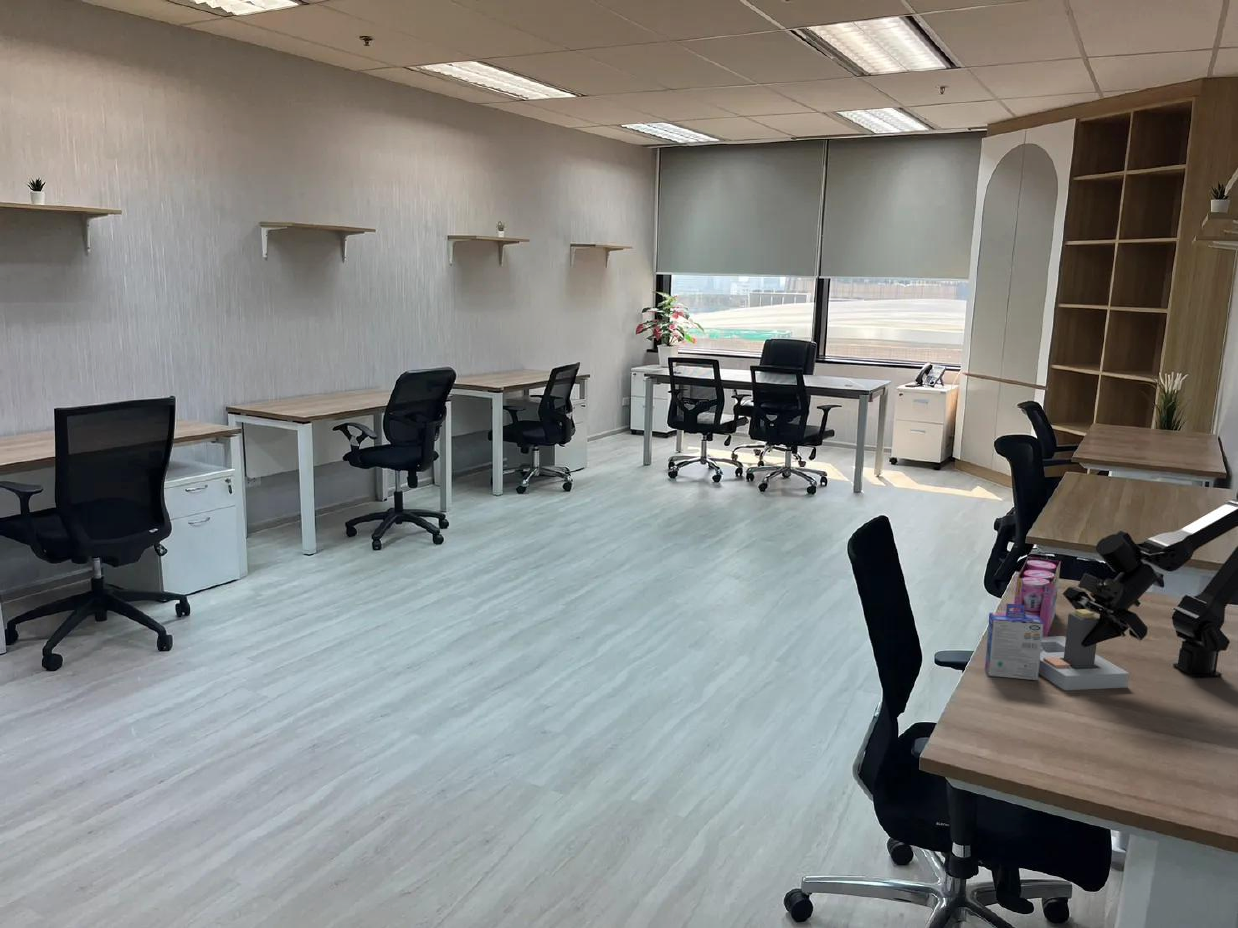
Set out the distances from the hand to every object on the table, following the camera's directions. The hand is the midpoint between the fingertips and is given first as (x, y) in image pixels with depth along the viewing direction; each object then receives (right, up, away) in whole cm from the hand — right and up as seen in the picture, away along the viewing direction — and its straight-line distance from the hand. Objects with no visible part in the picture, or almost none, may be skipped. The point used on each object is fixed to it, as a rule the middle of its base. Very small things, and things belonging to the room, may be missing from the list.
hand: (1075, 641), depth 189 cm
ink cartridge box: (-12, -7, +2) cm, 14 cm away
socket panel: (0, -7, +6) cm, 9 cm away
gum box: (+7, -2, +34) cm, 35 cm away
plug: (+1, -6, +1) cm, 7 cm away
